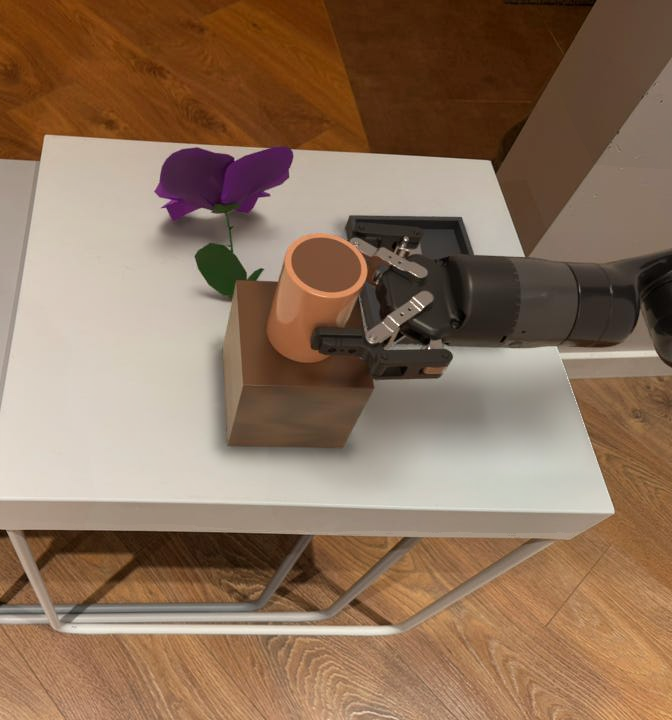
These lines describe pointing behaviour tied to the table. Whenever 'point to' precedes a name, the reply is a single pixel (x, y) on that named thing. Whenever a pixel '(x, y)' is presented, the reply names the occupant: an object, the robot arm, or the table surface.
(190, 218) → the table surface
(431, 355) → the robot arm
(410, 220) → the tray
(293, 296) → the cup
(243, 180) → the flower
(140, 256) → the table surface
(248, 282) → the block
